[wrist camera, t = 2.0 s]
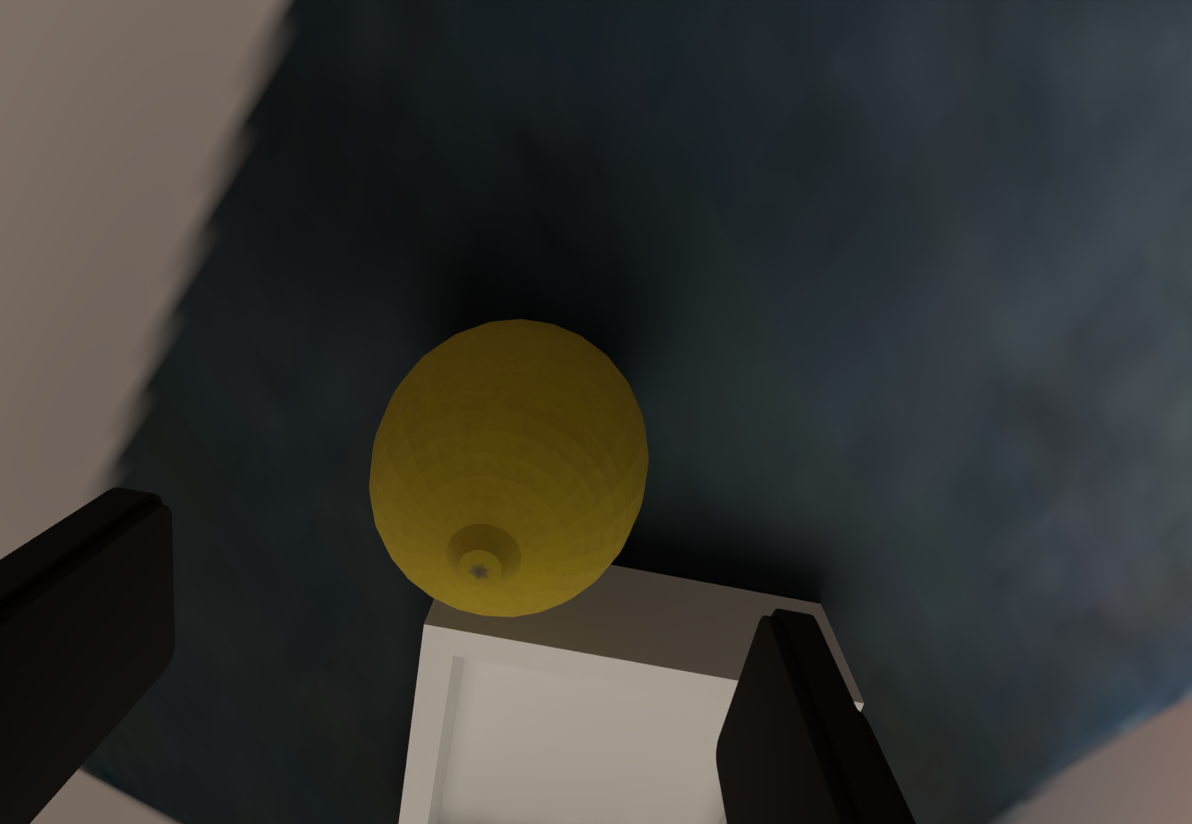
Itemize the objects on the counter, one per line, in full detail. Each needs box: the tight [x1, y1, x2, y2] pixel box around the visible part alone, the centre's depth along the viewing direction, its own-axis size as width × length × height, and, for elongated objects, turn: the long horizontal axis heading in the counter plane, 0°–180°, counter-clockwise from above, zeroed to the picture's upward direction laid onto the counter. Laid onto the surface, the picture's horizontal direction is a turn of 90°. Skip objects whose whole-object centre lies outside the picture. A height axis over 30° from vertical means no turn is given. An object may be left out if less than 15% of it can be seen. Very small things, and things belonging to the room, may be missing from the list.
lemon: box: [369, 319, 648, 617], centre depth 14 cm, size 6×6×8 cm
